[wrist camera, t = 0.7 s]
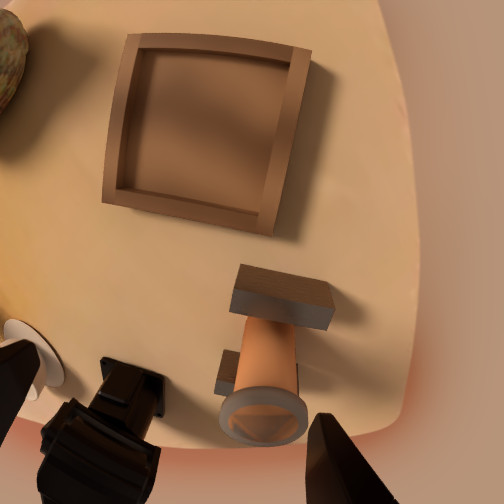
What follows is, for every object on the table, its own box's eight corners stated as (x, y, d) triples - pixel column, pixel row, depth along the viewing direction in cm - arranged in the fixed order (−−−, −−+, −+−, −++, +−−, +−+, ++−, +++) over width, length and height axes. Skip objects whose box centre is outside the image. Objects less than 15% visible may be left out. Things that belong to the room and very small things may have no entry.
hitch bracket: (292, 376, 24) (292, 407, 21) (221, 363, 24) (213, 393, 21) (327, 281, 20) (335, 308, 17) (240, 263, 20) (233, 288, 17)
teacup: (1, 302, 25) (-24, 323, 21) (65, 345, 26) (41, 373, 21) (11, 358, 29) (-8, 378, 24) (67, 396, 29) (51, 421, 25)
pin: (291, 355, 23) (293, 450, 15) (233, 344, 23) (214, 438, 15) (308, 308, 21) (320, 404, 13) (244, 295, 21) (225, 389, 13)
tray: (272, 227, 19) (271, 236, 18) (114, 196, 19) (101, 202, 18) (308, 58, 15) (312, 50, 13) (139, 40, 15) (127, 34, 14)
